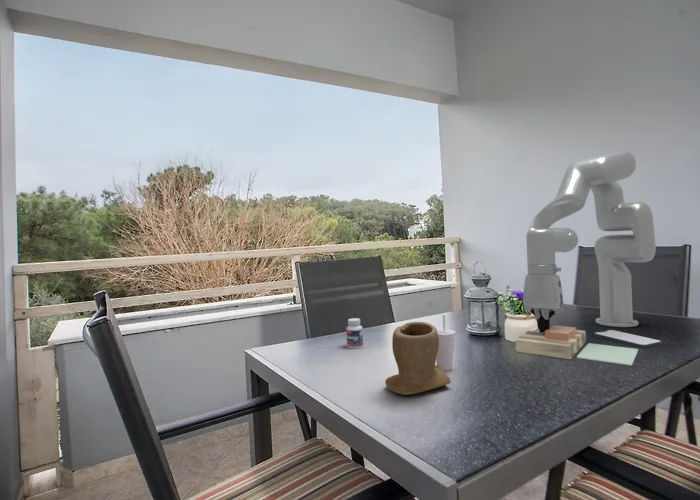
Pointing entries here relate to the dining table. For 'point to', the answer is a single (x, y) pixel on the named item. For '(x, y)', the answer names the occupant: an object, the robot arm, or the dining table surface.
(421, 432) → the dining table surface
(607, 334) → the phone case
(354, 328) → the pill bottle
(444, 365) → the smoothie
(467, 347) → the dining table surface
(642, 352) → the dining table surface
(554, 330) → the tile
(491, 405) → the dining table surface
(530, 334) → the block
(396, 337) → the stone cup
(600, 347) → the mat
